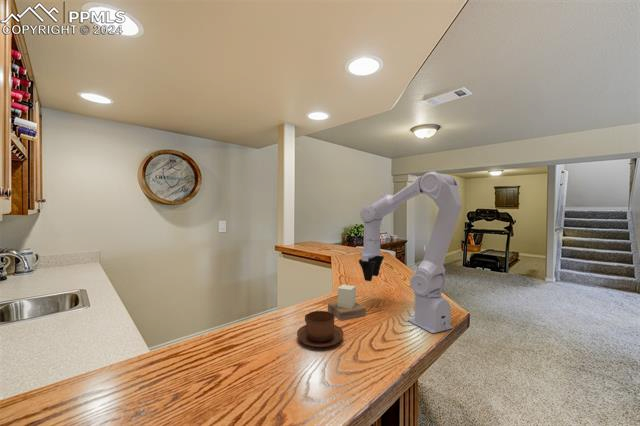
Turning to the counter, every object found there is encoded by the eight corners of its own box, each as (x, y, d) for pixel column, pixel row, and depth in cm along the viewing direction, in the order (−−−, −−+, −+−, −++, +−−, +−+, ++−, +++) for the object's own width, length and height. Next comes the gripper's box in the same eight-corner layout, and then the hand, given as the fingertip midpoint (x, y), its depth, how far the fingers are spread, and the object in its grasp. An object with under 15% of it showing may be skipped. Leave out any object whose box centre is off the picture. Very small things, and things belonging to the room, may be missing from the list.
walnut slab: (366, 317, 84) (366, 308, 84) (341, 322, 80) (341, 312, 80) (351, 308, 92) (351, 299, 92) (327, 312, 88) (327, 303, 88)
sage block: (355, 304, 87) (355, 286, 87) (350, 309, 83) (350, 289, 83) (342, 302, 89) (343, 284, 89) (337, 306, 85) (337, 287, 85)
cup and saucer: (287, 344, 66) (287, 320, 66) (311, 326, 77) (311, 305, 77) (331, 357, 61) (331, 330, 60) (350, 335, 71) (350, 312, 71)
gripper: (367, 237, 102) (367, 272, 102) (353, 241, 89) (353, 281, 89) (386, 238, 98) (385, 274, 98) (373, 242, 86) (373, 284, 86)
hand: (371, 278), depth 94 cm, fingers open, 7 cm apart
